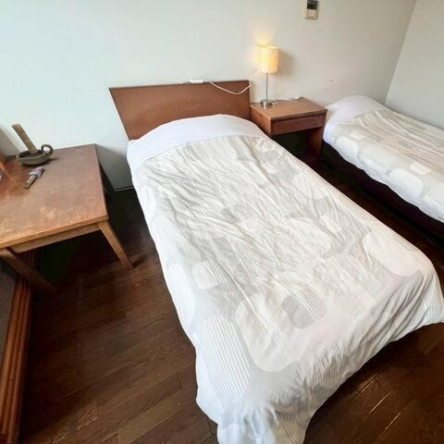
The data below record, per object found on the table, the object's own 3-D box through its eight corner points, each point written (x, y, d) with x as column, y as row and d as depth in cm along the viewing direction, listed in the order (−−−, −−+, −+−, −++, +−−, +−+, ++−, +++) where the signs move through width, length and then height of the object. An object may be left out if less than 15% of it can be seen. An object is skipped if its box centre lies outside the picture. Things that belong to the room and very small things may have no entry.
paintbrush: (43, 164, 143) (28, 185, 130) (46, 168, 145) (31, 189, 132) (35, 164, 142) (19, 185, 129) (38, 168, 144) (22, 189, 131)
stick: (29, 153, 144) (9, 126, 133) (32, 150, 146) (13, 124, 135) (36, 153, 144) (18, 126, 134) (39, 150, 147) (21, 123, 136)
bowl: (22, 160, 149) (10, 144, 143) (58, 153, 158) (49, 139, 151) (21, 170, 142) (9, 155, 135) (59, 163, 150) (49, 148, 143)
